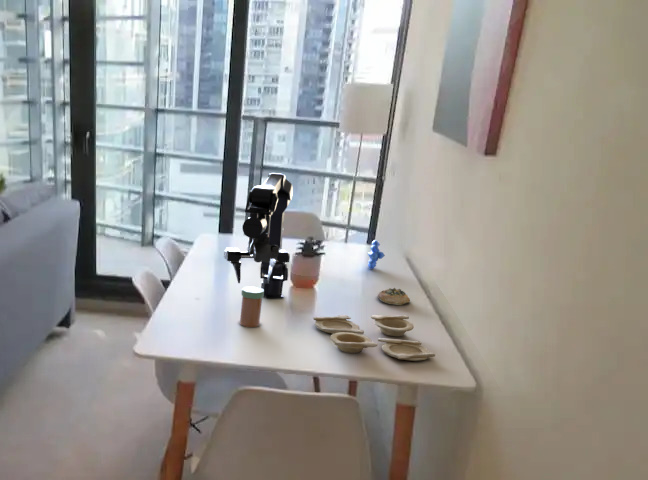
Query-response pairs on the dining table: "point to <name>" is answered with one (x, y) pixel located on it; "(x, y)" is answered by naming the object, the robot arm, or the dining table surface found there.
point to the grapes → (374, 254)
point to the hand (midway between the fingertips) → (253, 283)
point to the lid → (252, 292)
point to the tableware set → (388, 325)
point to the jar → (250, 312)
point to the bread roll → (393, 296)
